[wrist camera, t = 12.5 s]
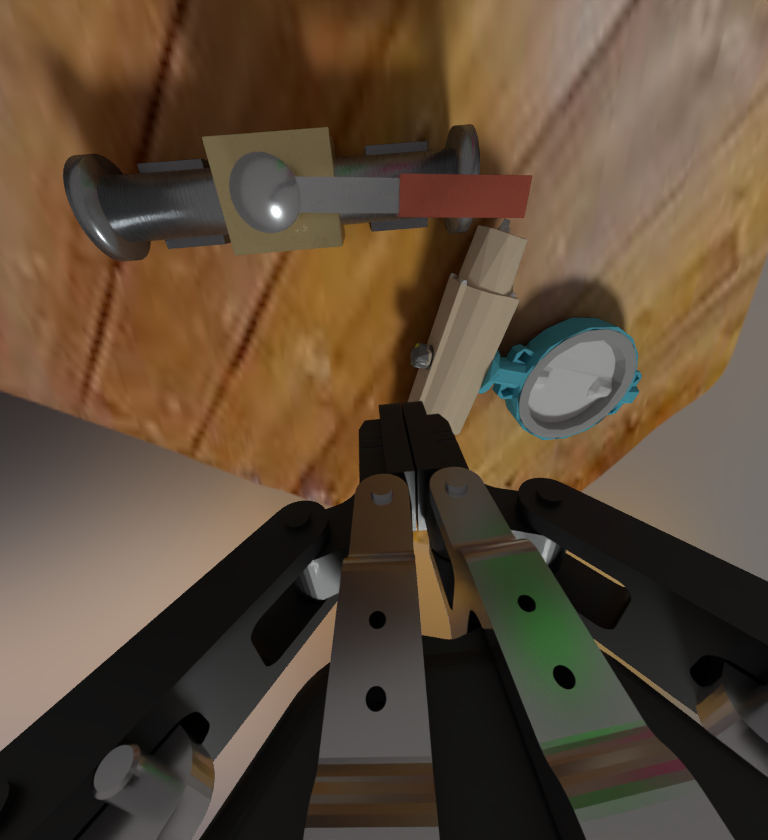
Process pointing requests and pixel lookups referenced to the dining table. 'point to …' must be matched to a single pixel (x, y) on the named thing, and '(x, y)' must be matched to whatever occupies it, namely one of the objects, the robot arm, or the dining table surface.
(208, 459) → the dining table surface
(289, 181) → the valve lever
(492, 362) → the butterfly valve
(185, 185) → the pipe valve
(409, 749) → the robot arm
